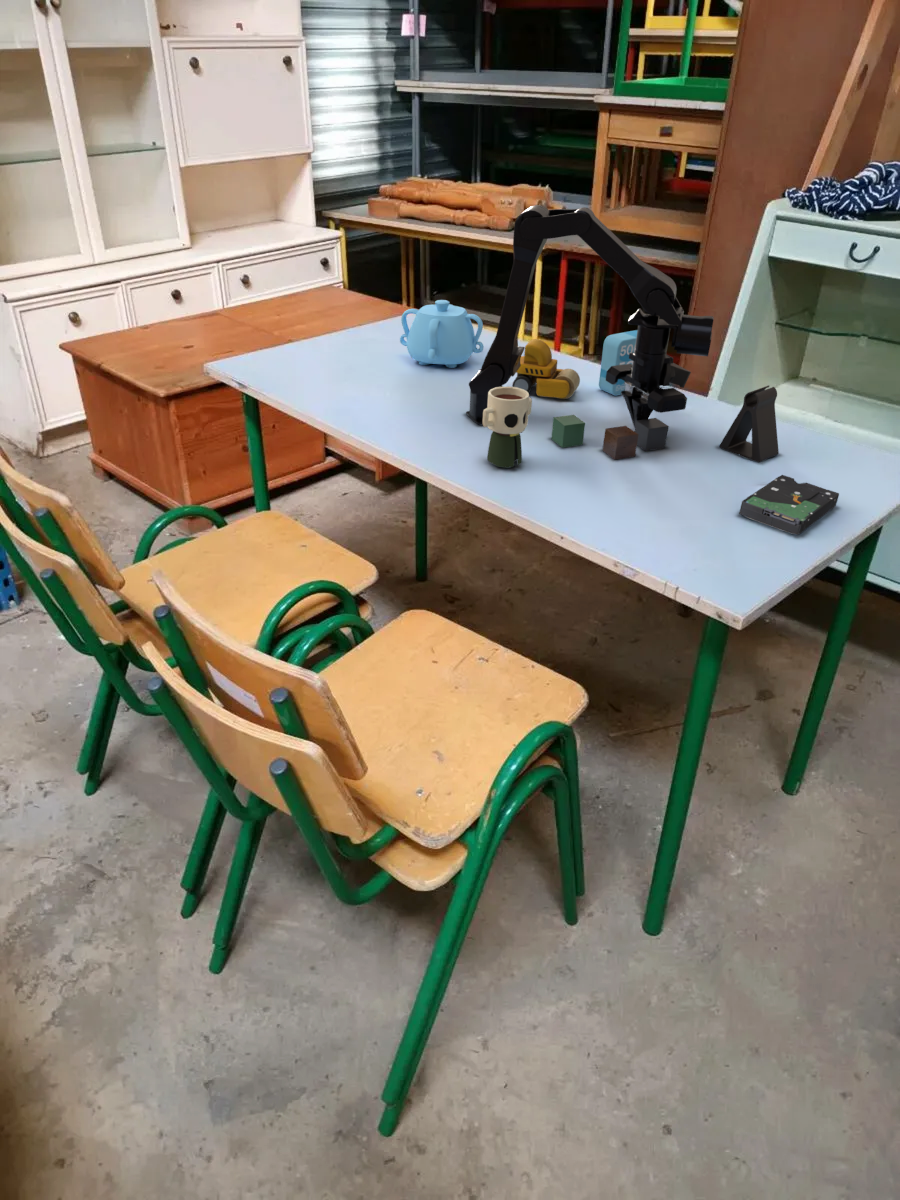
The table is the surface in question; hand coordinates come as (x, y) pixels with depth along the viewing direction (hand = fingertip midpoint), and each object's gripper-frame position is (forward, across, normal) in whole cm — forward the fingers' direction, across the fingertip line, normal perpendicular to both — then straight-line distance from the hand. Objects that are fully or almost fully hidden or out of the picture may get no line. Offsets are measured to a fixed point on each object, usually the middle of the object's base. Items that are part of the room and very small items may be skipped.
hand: (638, 430), depth 168 cm
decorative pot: (+2, +56, +18) cm, 58 cm away
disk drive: (+2, -35, -6) cm, 36 cm away
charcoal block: (+1, -4, 0) cm, 4 cm away
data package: (+2, +24, -12) cm, 27 cm away
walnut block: (+1, -6, +8) cm, 10 cm away
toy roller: (+2, +28, +5) cm, 29 cm away
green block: (+1, +2, +14) cm, 14 cm away
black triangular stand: (+2, -13, -16) cm, 21 cm away
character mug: (+2, -2, +30) cm, 30 cm away
